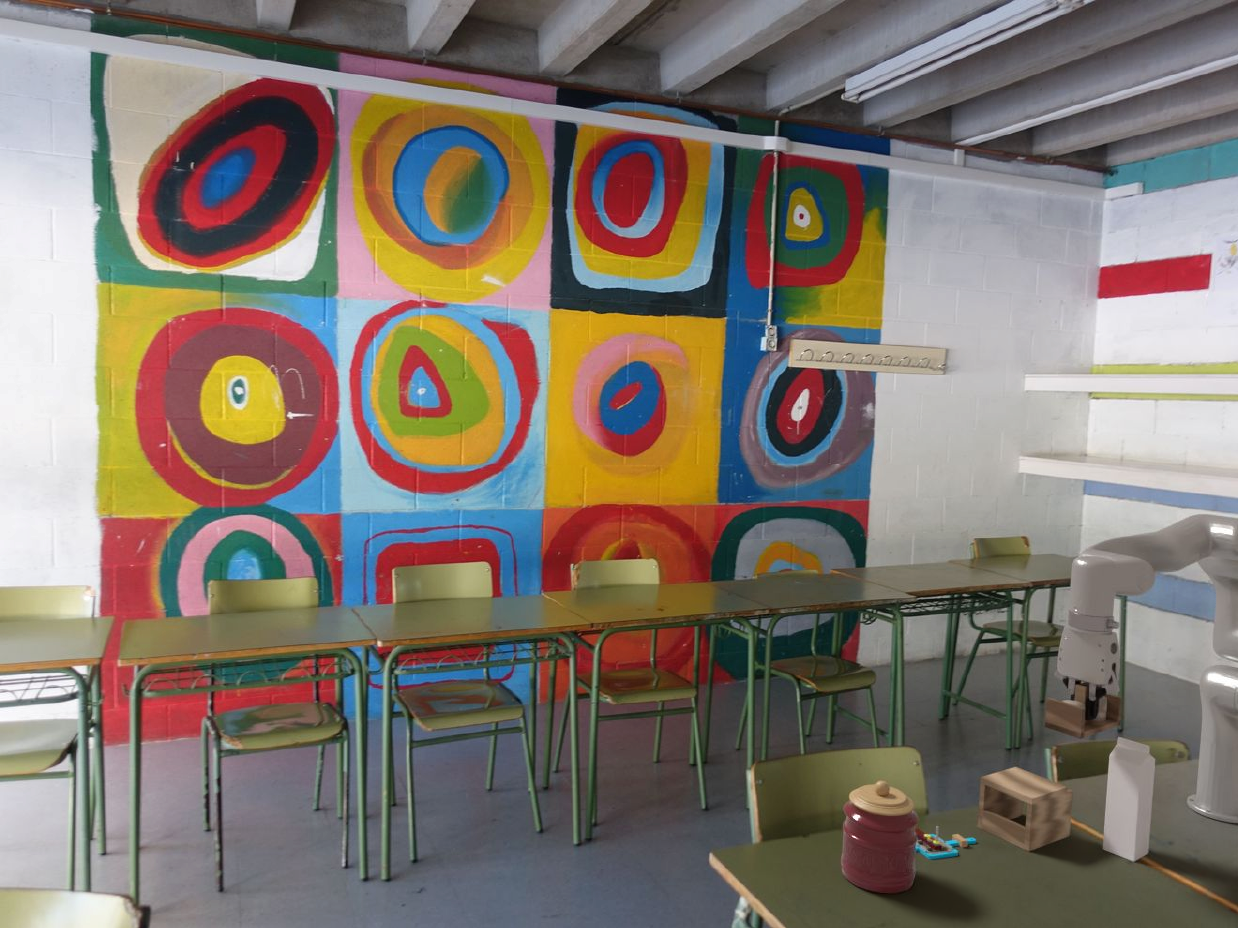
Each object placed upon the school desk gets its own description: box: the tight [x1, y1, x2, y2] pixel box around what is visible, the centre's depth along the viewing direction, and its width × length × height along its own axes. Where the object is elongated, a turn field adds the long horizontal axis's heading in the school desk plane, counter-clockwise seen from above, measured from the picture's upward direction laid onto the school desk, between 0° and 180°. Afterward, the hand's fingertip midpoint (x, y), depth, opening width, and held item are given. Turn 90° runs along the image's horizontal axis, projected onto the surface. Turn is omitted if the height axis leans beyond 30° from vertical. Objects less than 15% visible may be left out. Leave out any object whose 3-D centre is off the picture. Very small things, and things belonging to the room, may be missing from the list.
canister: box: [840, 780, 919, 894], centre depth 168 cm, size 13×13×18 cm
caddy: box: [1044, 682, 1123, 740], centre depth 178 cm, size 14×7×8 cm, turn 124°
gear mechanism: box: [915, 825, 978, 860], centre depth 181 cm, size 20×5×9 cm
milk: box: [1102, 736, 1156, 863], centre depth 181 cm, size 6×6×22 cm
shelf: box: [977, 766, 1074, 852], centre depth 189 cm, size 14×12×10 cm
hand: (1083, 716), depth 179 cm, fingers closed on caddy
